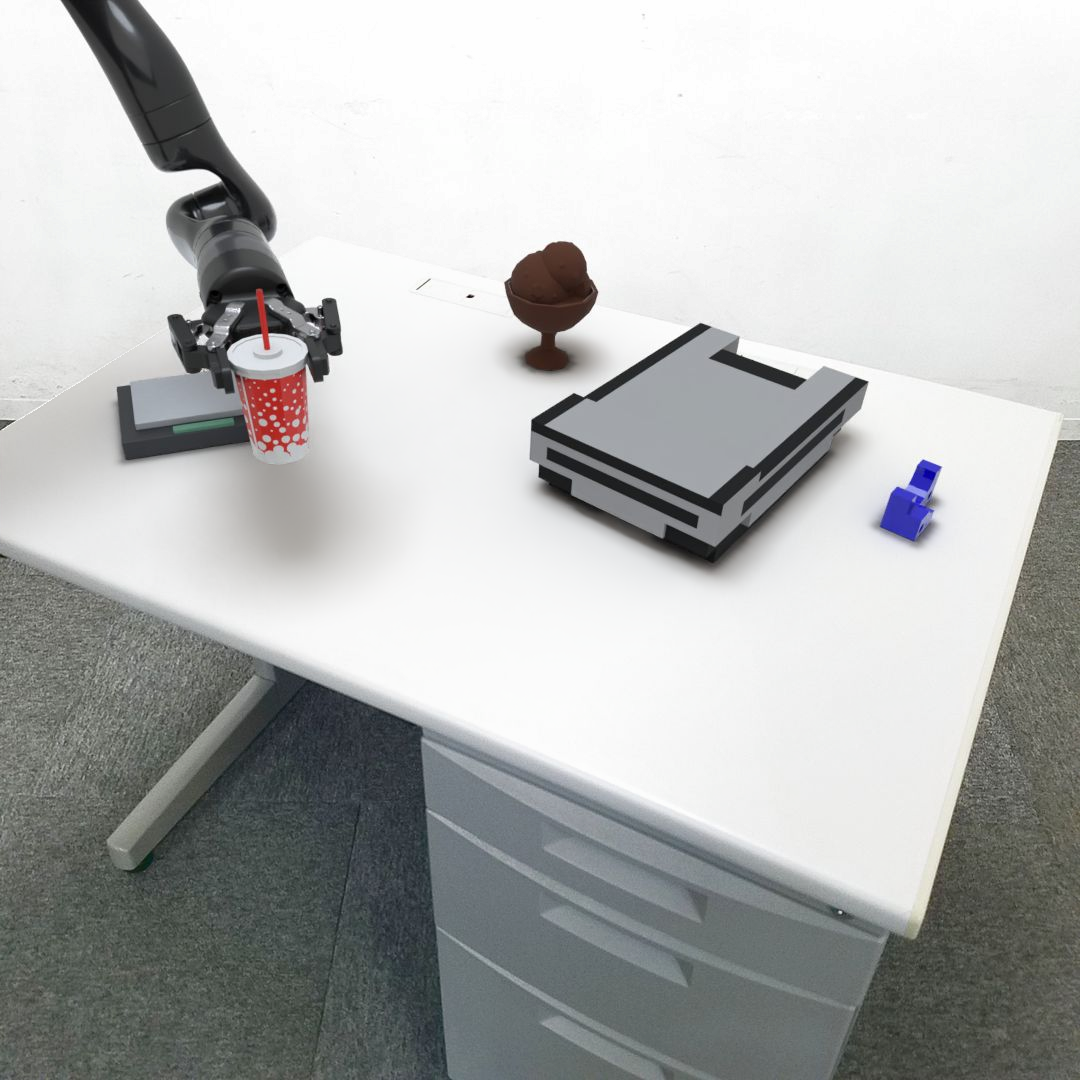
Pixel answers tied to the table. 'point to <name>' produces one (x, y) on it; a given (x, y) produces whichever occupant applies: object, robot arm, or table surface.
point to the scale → (178, 415)
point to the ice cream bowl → (551, 298)
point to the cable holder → (912, 503)
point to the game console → (693, 439)
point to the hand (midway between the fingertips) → (274, 377)
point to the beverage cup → (273, 392)
